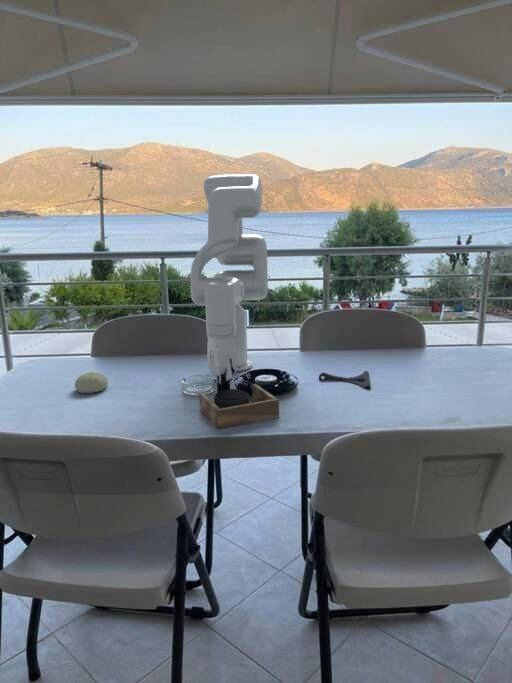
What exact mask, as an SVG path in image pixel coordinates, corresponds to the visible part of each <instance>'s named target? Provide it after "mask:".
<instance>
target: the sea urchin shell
mask: <svg viewBox="0 0 512 683" xmlns="http://www.w3.org/2000/svg"><path fill="white" fill-rule="evenodd" d="M108 380H109V379H108V378H107V377H106V376H105V375H104V374H103V373H100V372H95V371H94V372H93V371H91V372H87V373H84V374H82V375H79V376H78V377H77V378H76V379H75V383H74V387H75V390H76V391H77V392H79V393H80V394H83V393H86V394H95V393H94V392H96V393H100V392H99V391H101V392H102V391H103V390H105V389H106V388H107V387H108V383H109V381H108Z"/></svg>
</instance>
